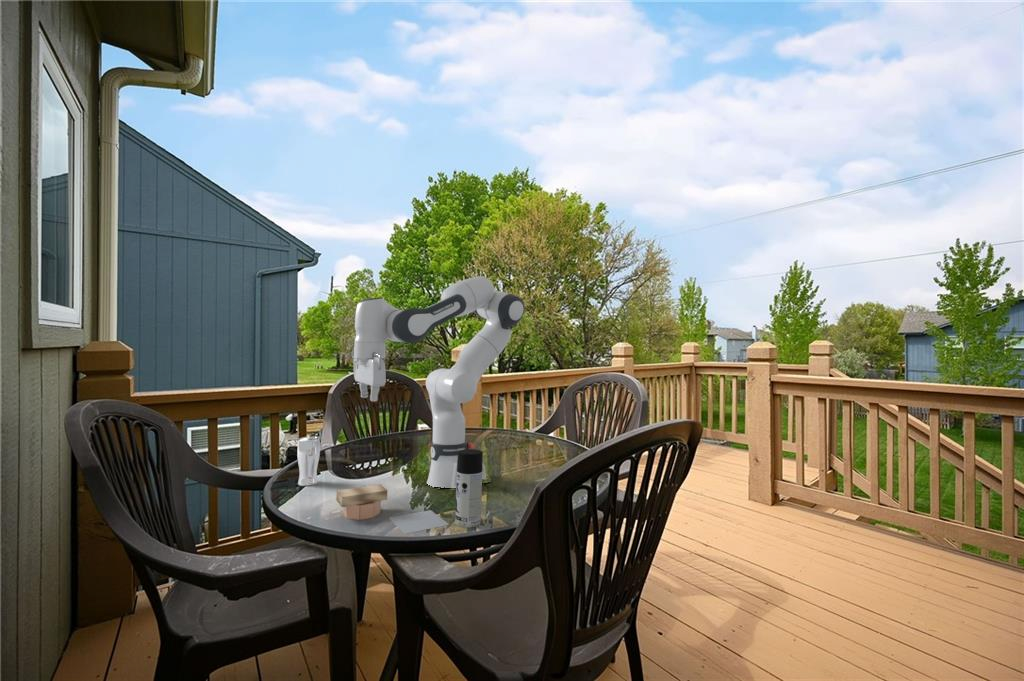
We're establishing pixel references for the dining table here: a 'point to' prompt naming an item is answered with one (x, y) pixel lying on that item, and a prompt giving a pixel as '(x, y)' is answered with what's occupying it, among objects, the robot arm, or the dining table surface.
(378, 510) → the bowl
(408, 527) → the mat
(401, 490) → the dining table surface
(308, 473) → the beer glass
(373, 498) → the board
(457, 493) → the spray can
